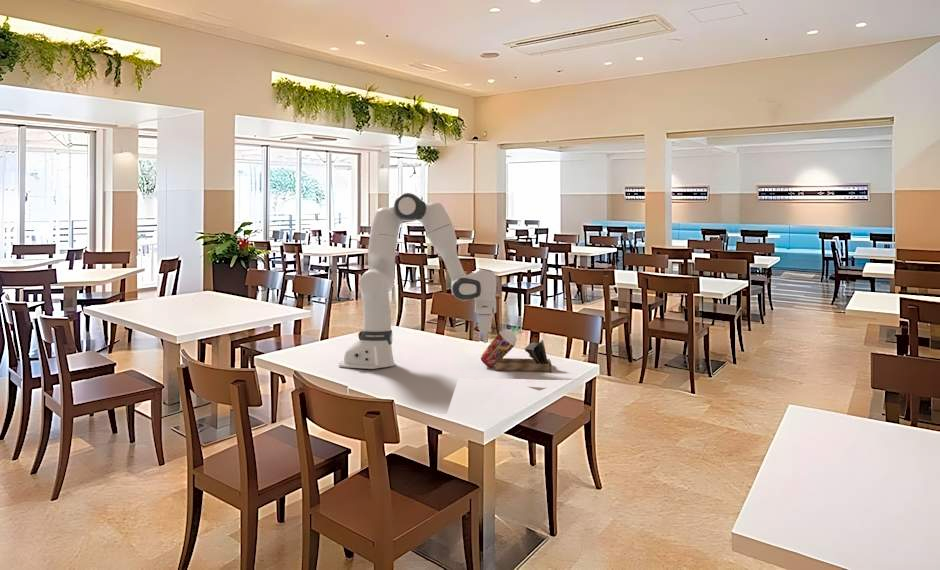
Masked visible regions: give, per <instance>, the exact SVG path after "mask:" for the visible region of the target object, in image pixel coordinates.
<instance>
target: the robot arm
mask: <svg viewBox="0 0 940 570" xmlns="http://www.w3.org/2000/svg"><path fill="white" fill-rule="evenodd" d="M415 221H418V222H420V223H421V224H422V226H423V227H424V230H425V233H426V235H427V237H428V240H429V242H430V243H431V245H432V247H433V248H434V250H435V252H437V253H438V255H439V256H440V257H441V259H442V260H443V262H444V265H445V268H446V270H447V272H448V275H449V278H450V292H451V294H452V297H454V299H456V300H460V301H469V300H472V299H473V300H474V313H476V314H475V315H477V321H478V329H479V333H480V334H482V343H484V344H485V343H488V342H489V333H490V330H491V328H492V318H494V314H496V313H497V298H496V294H497V277H496V274H495V272H494V271H492V270H491V269H486V268H480V267H479V268H476V269H475V270H474V271H472V272H470V273H468V274H466V273H465V271H464V269H463V266H462V263H461V261H460V258H459V255H458V249H457V243H458V240H457V234H456V230H455V227H454V225H453V222H452V220H451V218H450V216H449V214H448V212H447V210H446V209H445V207H444V206H443V204H441V202H438V201H431V202H429V203H425V201H423V200H422V199H421V198H420V197H418V196H417V195H416V194H414V193H411V192H404V193H401V194H400V195H398V196H397V198H396V199H395V201H394V205H393V206H392V207H386V206H385V207H380V208H378V209H377V210H376V211H375V213H374V217H373V220H372V223H371V228H370V235H369V240H368V248H367V255H368V270H366V271H364V273H363V274H362V275H361V276H360V278H359V281H358V282H359V283H358V285H359V289H360V295H361V296H360V297H361V302H362V303H361V304H362V310H363V311H362V312H363V317H362V318H363V329H362V330H360V331H359V332H358V334H357V337H358V340H356V341H355V342H354V343H353V344H351V345H350V346H349V347H348V348H347V349H346V350H345V352H344V357H343V360H342V361H340V362H338V367H339V368H350V369H351V368H352V369H353V368H354V369H370V370H372V369H373V370H375V369H380V368H388V367H393V366H395V365H396V363H395V359H394V354H393V345H392V344H393V330H392V309H391V304H390V296H389V293H391V291H392V290H393V289H394V286H395V273H396V272H395V271H396V252H397V244H398V239H399V238H398V237H399V231H400V227H401V225H402V224H404V223H412V222H415Z"/></svg>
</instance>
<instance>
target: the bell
mask: <svg viewBox="0 0 940 570" xmlns="http://www.w3.org/2000/svg"><path fill="white" fill-rule="evenodd" d="M524 351H525V352H527V353H528V356H529V358H530V359H533V360H534V361H535V362H536V364H548V360H547V359H548V358H547V357H548V356H547V352H546V348H545V344H544V340H543V339H542V340H541V341H539V342H537V343H536V342H531V343H529V344H527V346H526V347H524Z"/></svg>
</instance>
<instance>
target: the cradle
mask: <svg viewBox="0 0 940 570" xmlns="http://www.w3.org/2000/svg"><path fill="white" fill-rule="evenodd" d="M547 360H548V364H536V362H535V361H534V360H533V358H520V357H518V358H513V357H512V358H511V357H510V358H509V357H507V358H505V357H503V358H502V359H501V360H500V361H499V362H498V363H496V365H495V371H496V372H525V373H526V372H528V373H529V372H531V373H537V372H538V373H552V368H553V367H552V362H551V359H550V358H547Z"/></svg>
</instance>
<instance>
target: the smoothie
mask: <svg viewBox="0 0 940 570" xmlns="http://www.w3.org/2000/svg"><path fill="white" fill-rule="evenodd" d="M518 328H519V326H516V327H515V328H514V330H511V329H503V330H500V331H499V332H498V333H497V335H496V336H495V337H494V339H493V340H491V342H490V343H489V345H488V346H487V347H486V348H485V350H484V351H483V353H482V354H481V357H480V361H481V362H482V363H483V364H484V365H485V366H486V367H488V368H492V367H496V363H498V362H499V361H500V360H501V359H502V358H505V356H506V355H507V354H508V353H509V352H510V351H511V350H512V349H513V348H514V347H515V346H516V343H517V340H518V339H517V335H516V333H515V332H516V331H517V330H518Z"/></svg>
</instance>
